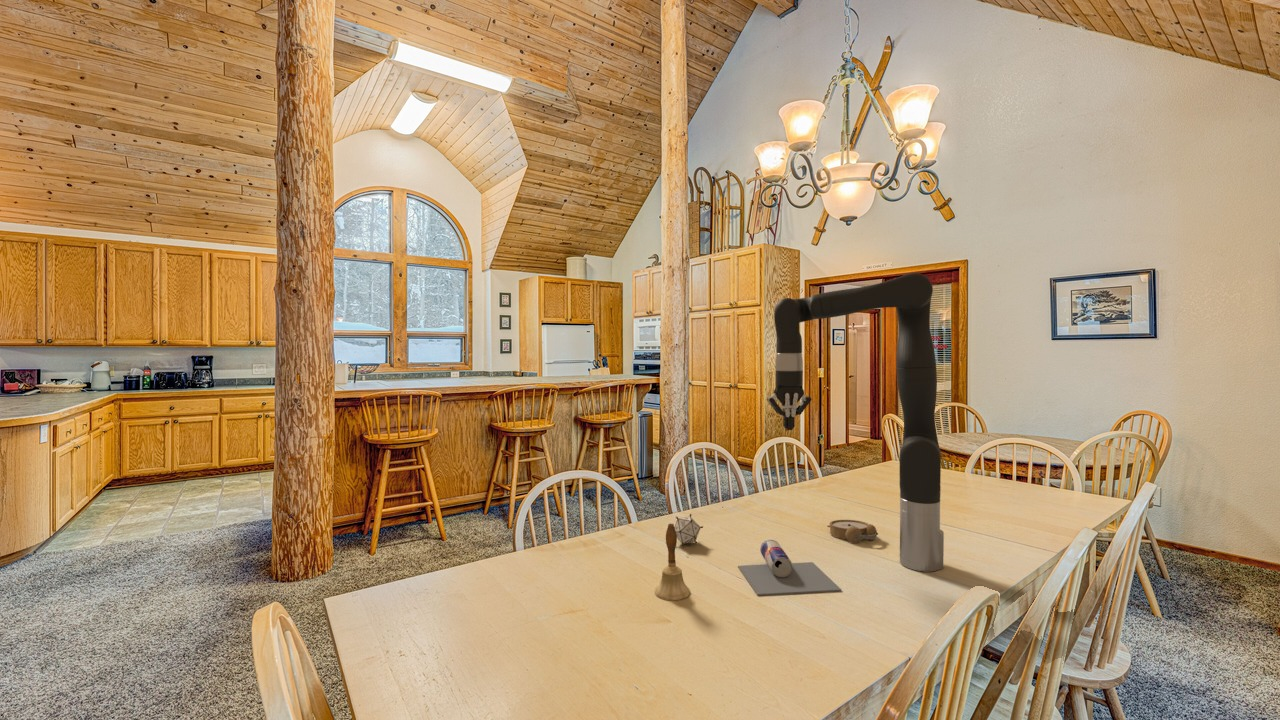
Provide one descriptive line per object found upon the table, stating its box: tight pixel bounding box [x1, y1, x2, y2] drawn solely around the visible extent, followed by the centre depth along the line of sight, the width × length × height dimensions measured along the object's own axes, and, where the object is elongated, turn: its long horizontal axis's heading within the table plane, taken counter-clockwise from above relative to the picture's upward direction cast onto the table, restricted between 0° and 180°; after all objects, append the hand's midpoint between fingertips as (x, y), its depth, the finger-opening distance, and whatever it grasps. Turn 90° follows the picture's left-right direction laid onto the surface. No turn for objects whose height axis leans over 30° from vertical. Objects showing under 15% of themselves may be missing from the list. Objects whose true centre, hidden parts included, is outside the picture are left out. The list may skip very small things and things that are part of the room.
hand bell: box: [654, 523, 691, 602], centre depth 125 cm, size 8×8×16 cm
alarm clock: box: [826, 519, 879, 544], centre depth 161 cm, size 11×5×15 cm
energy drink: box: [760, 539, 793, 577], centre depth 138 cm, size 5×5×12 cm
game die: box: [674, 513, 704, 547], centre depth 156 cm, size 9×8×10 cm
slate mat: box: [737, 561, 842, 597], centre depth 133 cm, size 20×16×1 cm
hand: (788, 429), depth 155 cm, fingers closed
